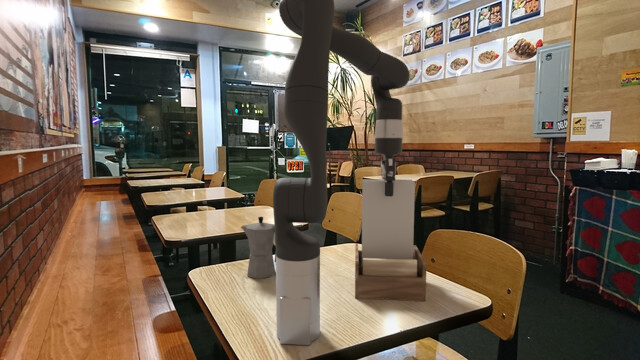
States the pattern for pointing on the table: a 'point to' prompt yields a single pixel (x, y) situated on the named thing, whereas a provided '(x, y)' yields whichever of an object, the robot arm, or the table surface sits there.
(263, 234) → the coffeepot
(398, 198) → the brochure
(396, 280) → the rack
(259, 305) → the table surface
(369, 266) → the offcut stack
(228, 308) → the table surface
